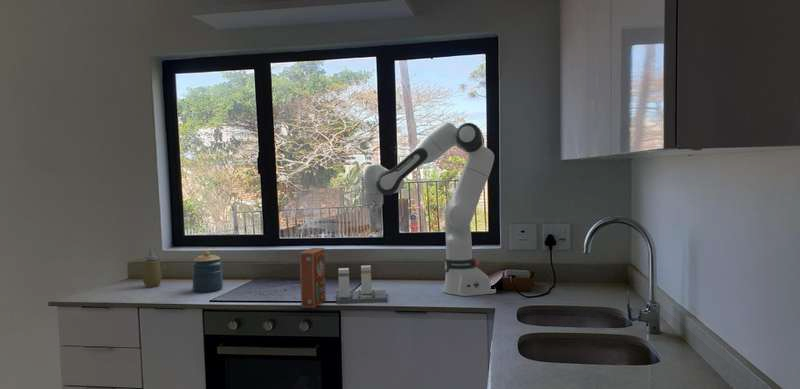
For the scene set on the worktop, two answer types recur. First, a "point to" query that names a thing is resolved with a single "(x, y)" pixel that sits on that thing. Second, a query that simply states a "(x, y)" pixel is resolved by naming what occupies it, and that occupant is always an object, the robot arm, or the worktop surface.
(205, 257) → the canister
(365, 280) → the breaker toggle
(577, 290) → the worktop surface
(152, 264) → the squeeze bottle
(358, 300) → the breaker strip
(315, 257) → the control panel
